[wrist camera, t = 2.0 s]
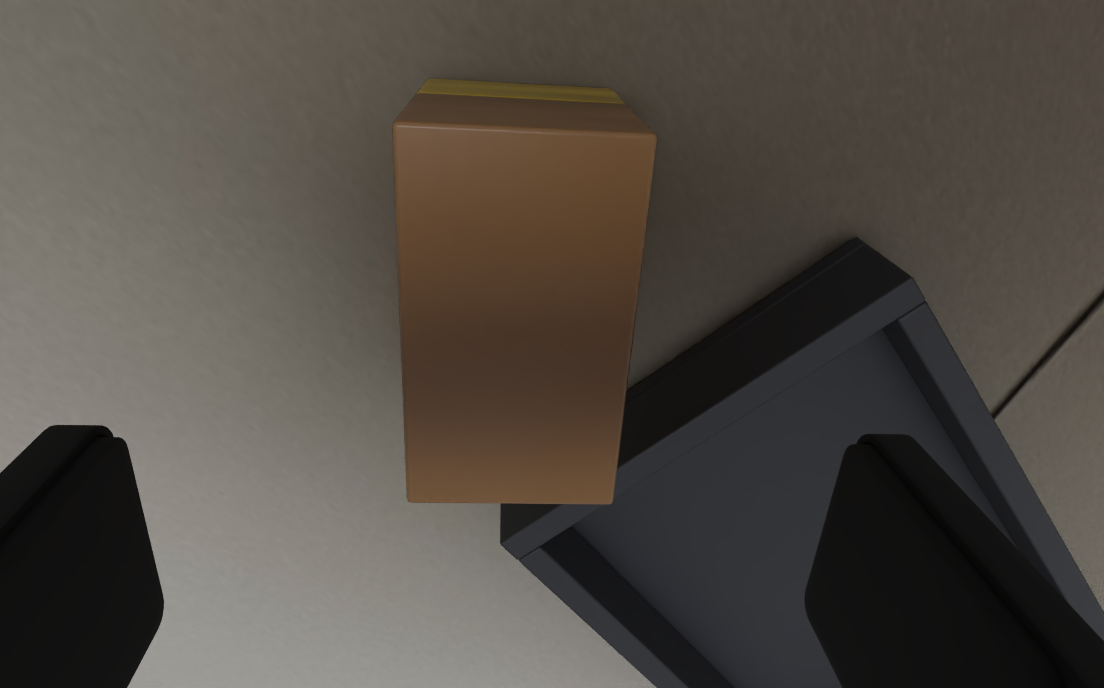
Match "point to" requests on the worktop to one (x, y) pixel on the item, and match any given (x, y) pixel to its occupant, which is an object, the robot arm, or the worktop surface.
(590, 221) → the scrub brush
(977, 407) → the tray
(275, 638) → the worktop surface
